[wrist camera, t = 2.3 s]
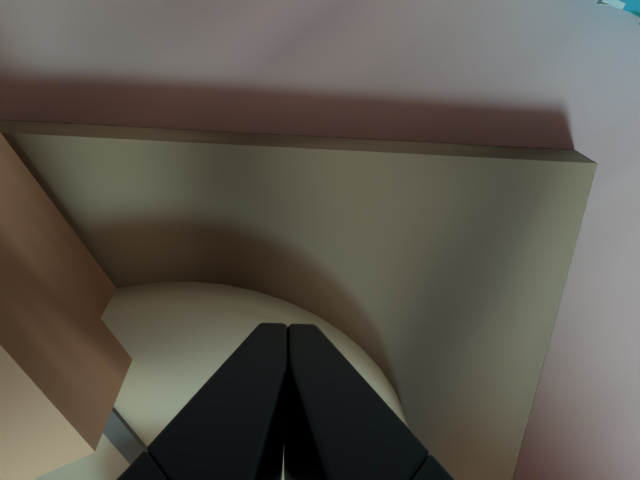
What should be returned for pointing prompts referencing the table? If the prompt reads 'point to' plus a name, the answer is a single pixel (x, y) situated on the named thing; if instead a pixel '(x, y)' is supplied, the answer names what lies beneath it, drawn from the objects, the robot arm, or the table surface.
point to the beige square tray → (348, 250)
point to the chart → (623, 5)
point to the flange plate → (108, 345)
